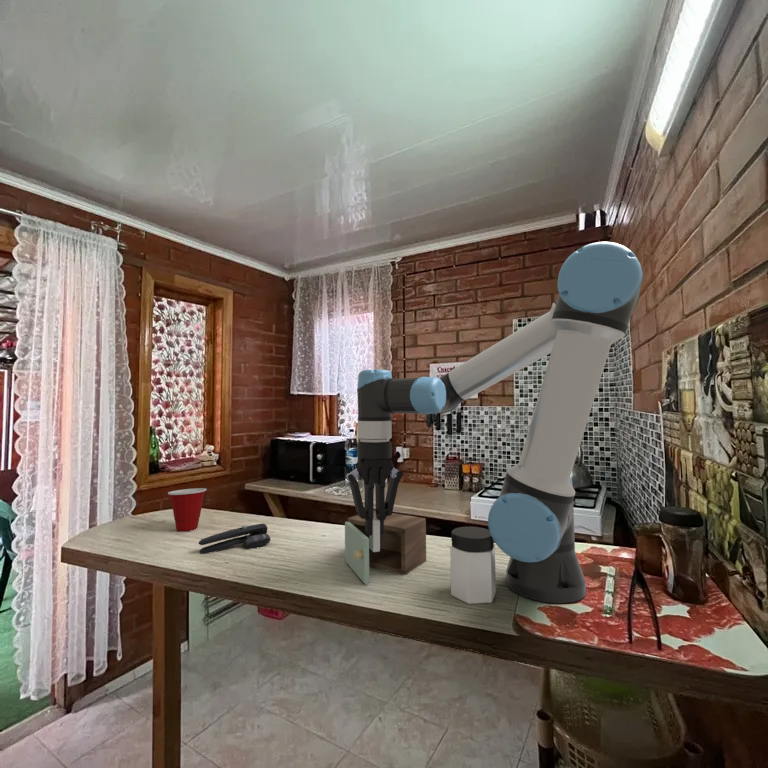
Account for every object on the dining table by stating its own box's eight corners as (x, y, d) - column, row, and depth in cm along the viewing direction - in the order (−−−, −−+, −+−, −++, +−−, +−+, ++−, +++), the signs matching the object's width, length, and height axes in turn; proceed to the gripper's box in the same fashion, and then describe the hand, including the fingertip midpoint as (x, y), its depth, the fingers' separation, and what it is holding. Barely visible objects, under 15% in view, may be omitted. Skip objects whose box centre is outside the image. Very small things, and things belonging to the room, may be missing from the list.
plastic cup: (200, 522, 134) (200, 484, 135) (210, 529, 126) (211, 489, 127) (163, 528, 128) (163, 489, 128) (171, 536, 119) (172, 494, 120)
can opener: (266, 539, 117) (266, 519, 117) (271, 546, 111) (271, 525, 111) (197, 550, 109) (197, 528, 109) (199, 558, 103) (199, 535, 103)
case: (426, 560, 99) (425, 518, 100) (405, 575, 91) (404, 528, 91) (371, 548, 108) (370, 509, 109) (347, 560, 100) (347, 518, 100)
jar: (458, 582, 87) (457, 524, 88) (498, 588, 84) (497, 528, 84) (446, 600, 79) (445, 536, 80) (490, 608, 76) (489, 541, 76)
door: (338, 561, 98) (338, 522, 98) (349, 559, 99) (348, 521, 99) (357, 584, 85) (357, 540, 85) (369, 582, 86) (368, 538, 86)
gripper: (394, 438, 97) (395, 540, 96) (341, 439, 92) (340, 548, 91) (408, 440, 90) (409, 551, 89) (351, 442, 85) (350, 559, 84)
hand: (374, 549), depth 90 cm, fingers closed
